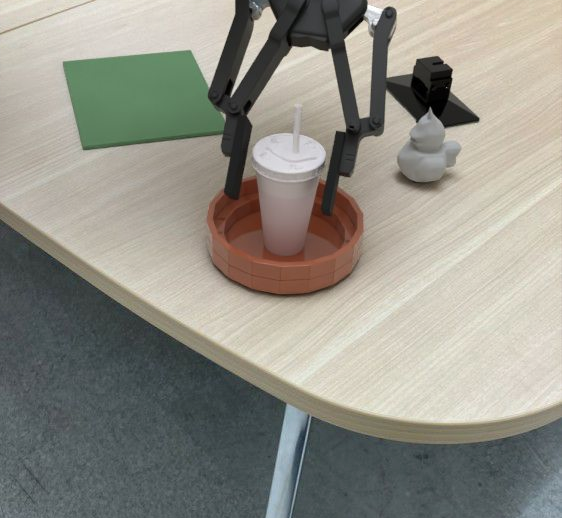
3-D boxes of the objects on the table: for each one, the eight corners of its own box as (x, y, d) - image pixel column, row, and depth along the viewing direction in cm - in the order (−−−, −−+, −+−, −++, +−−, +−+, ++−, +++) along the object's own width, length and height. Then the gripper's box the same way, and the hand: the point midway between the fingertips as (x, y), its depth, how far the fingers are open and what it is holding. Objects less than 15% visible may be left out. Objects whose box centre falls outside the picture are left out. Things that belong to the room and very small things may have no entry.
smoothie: (305, 272, 71) (316, 131, 61) (239, 254, 72) (239, 113, 62) (327, 232, 75) (341, 94, 65) (264, 216, 76) (268, 78, 66)
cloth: (83, 149, 84) (82, 146, 83) (63, 64, 97) (62, 61, 96) (229, 132, 87) (229, 129, 87) (190, 52, 100) (190, 49, 100)
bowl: (229, 309, 68) (228, 278, 65) (193, 213, 77) (191, 182, 74) (382, 283, 71) (387, 253, 68) (330, 194, 80) (333, 164, 78)
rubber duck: (387, 164, 84) (399, 94, 78) (446, 160, 85) (461, 91, 80) (402, 193, 81) (415, 121, 75) (462, 189, 82) (480, 118, 76)
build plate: (480, 122, 92) (489, 84, 88) (425, 132, 89) (432, 94, 86) (427, 73, 99) (434, 36, 96) (376, 81, 97) (381, 44, 94)
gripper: (450, -29, 68) (397, 232, 69) (222, -59, 70) (174, 193, 71) (458, -77, 60) (398, 217, 61) (202, -109, 63) (149, 174, 64)
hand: (278, 204), depth 66 cm, fingers open, 8 cm apart
